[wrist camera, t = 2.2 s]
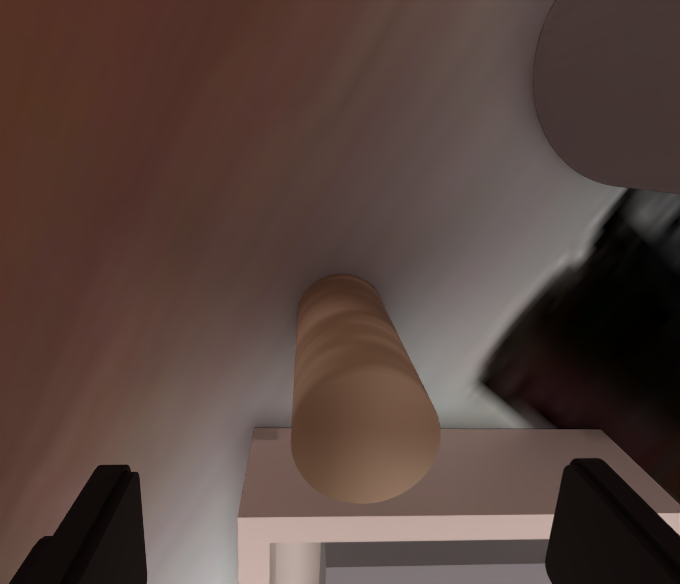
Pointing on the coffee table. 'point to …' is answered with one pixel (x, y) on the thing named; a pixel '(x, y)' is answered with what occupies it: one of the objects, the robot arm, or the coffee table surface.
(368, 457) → the peg
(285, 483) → the open box
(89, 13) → the coffee table surface
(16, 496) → the coffee table surface
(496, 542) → the plate
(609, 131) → the coffee mug
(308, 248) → the coffee table surface
